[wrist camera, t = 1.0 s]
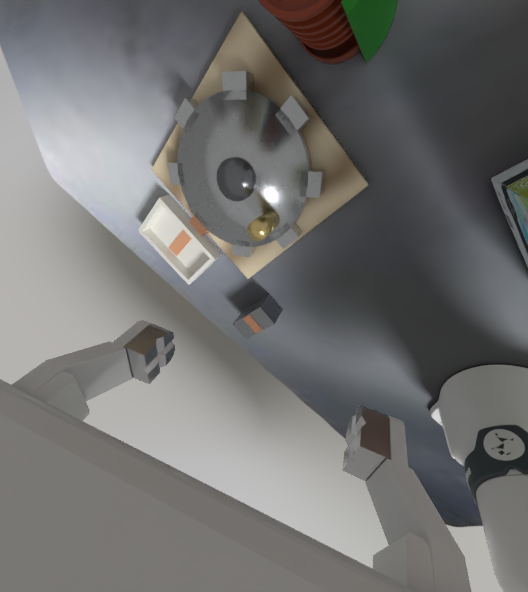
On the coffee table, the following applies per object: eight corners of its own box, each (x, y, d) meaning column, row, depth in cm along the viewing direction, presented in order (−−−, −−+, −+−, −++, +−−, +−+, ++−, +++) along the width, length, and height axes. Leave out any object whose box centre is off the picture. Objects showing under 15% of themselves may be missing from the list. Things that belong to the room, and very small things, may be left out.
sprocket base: (368, 184, 32) (368, 185, 31) (250, 276, 45) (248, 279, 44) (245, 14, 28) (241, 11, 27) (155, 168, 41) (151, 169, 40)
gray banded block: (282, 309, 46) (274, 324, 42) (256, 324, 50) (246, 339, 47) (269, 293, 45) (259, 307, 42) (243, 310, 49) (232, 324, 46)
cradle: (222, 254, 45) (215, 259, 43) (196, 278, 50) (188, 284, 48) (169, 194, 42) (159, 197, 41) (147, 226, 47) (137, 230, 46)
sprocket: (361, 185, 31) (356, 198, 25) (247, 276, 43) (226, 297, 38) (240, 19, 27) (203, -8, 22) (153, 170, 40) (116, 176, 34)
